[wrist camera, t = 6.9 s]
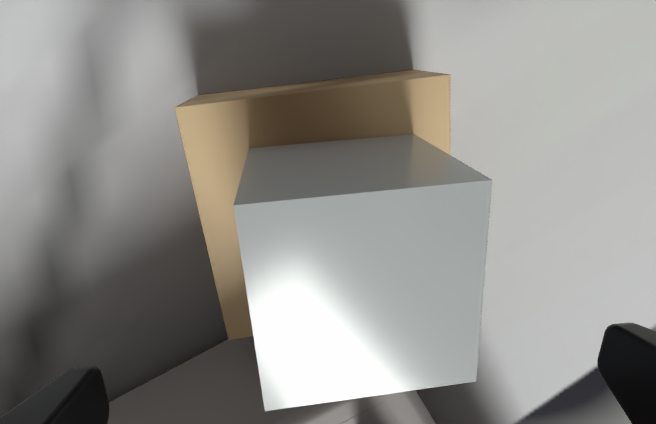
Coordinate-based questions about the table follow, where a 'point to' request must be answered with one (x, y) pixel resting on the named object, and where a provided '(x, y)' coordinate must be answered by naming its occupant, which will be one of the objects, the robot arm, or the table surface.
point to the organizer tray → (246, 397)
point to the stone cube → (362, 267)
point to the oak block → (286, 129)
